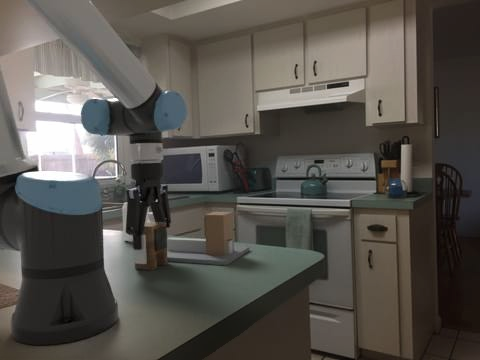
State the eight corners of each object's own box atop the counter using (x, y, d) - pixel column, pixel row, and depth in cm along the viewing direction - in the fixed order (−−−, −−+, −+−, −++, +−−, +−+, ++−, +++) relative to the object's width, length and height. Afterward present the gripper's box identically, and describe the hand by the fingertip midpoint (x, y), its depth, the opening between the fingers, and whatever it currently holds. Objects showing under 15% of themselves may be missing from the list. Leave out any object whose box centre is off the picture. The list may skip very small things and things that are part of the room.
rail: (226, 265, 97) (224, 218, 96) (145, 259, 105) (143, 216, 104) (249, 250, 112) (248, 209, 111) (177, 246, 120) (176, 208, 119)
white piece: (121, 239, 134) (120, 202, 133) (147, 236, 137) (145, 200, 137) (126, 243, 126) (124, 204, 126) (152, 240, 130) (151, 202, 129)
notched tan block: (155, 270, 94) (154, 226, 94) (135, 268, 96) (133, 225, 96) (169, 263, 100) (167, 222, 100) (149, 262, 102) (148, 221, 102)
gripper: (134, 162, 86) (139, 271, 87) (183, 161, 105) (186, 250, 107) (104, 163, 89) (109, 269, 90) (157, 161, 108) (161, 248, 109)
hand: (151, 258), depth 98 cm, fingers open, 8 cm apart
